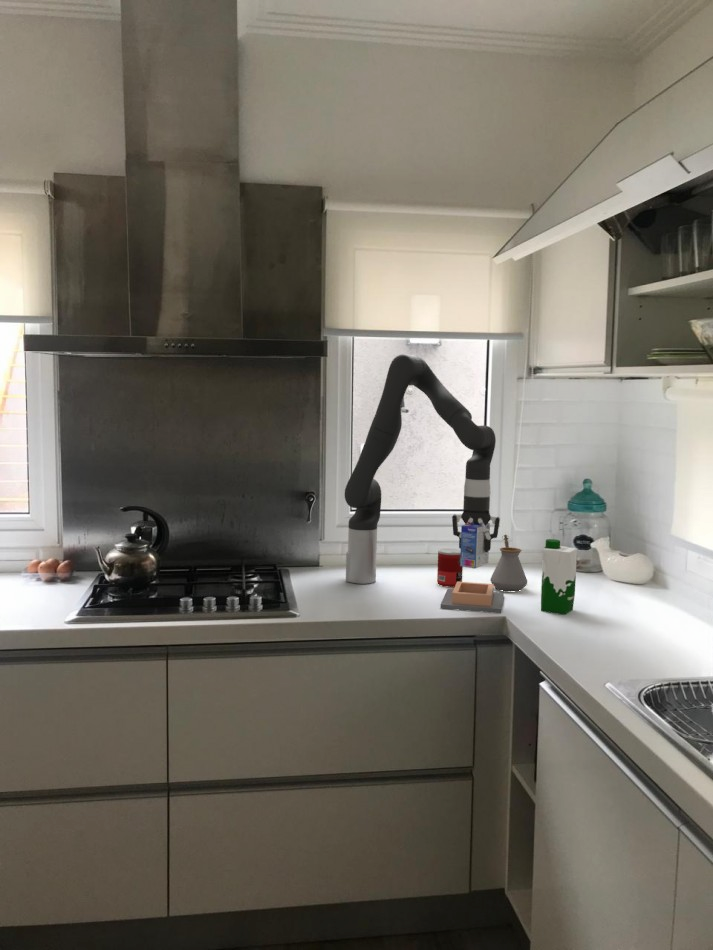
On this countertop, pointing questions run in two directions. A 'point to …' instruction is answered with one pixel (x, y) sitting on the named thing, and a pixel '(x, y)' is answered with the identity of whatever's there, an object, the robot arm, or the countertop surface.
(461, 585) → the dock
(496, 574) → the coffee pot
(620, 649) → the countertop surface
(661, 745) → the countertop surface
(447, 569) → the canned food
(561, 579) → the milk carton
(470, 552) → the ink cartridge box
